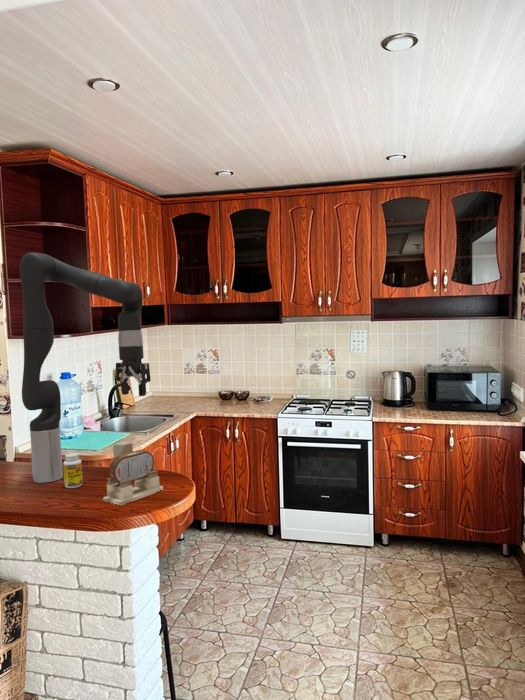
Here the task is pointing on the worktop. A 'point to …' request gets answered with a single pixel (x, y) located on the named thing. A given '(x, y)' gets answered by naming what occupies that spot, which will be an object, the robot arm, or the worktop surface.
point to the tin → (131, 466)
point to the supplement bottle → (72, 471)
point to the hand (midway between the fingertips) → (133, 395)
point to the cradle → (132, 489)
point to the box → (122, 448)
